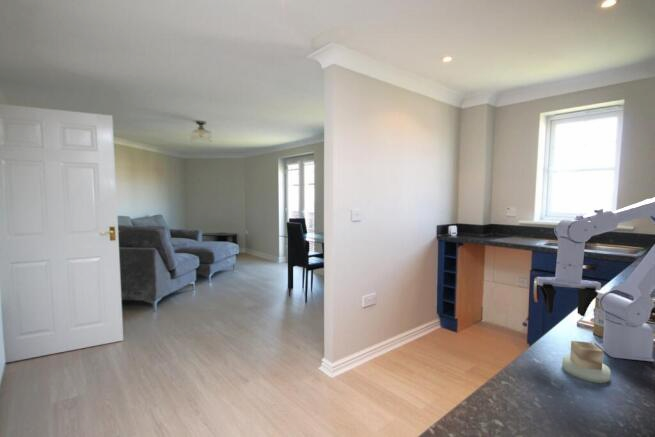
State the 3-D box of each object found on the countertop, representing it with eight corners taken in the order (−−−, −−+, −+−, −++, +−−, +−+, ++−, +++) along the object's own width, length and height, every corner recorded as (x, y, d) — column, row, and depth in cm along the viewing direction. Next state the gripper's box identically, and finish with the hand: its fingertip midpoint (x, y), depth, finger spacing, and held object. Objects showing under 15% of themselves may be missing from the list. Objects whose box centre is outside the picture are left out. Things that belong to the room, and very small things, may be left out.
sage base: (596, 365, 82) (596, 357, 82) (619, 385, 73) (619, 376, 73) (555, 360, 84) (556, 353, 84) (573, 380, 75) (573, 371, 75)
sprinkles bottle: (613, 335, 99) (617, 292, 98) (608, 339, 97) (612, 295, 96) (595, 330, 103) (598, 288, 102) (589, 333, 100) (592, 291, 99)
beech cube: (591, 360, 80) (592, 342, 80) (601, 370, 76) (603, 351, 76) (570, 358, 81) (571, 340, 81) (579, 367, 77) (580, 349, 77)
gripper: (545, 264, 86) (541, 315, 87) (610, 269, 82) (604, 321, 83) (534, 259, 92) (531, 306, 94) (594, 263, 89) (589, 312, 90)
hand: (564, 313), depth 89 cm, fingers open, 7 cm apart
